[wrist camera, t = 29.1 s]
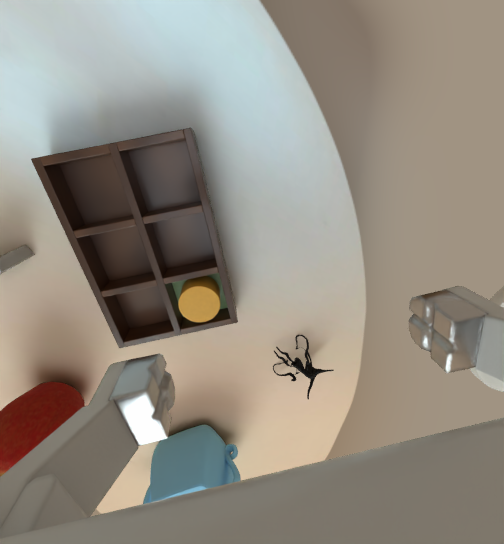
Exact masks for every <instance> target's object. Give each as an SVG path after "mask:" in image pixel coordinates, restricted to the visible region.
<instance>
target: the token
mask: <svg viewBox="0 0 504 544" xmlns="http://www.w3.org/2000/svg"><path fill="white" fill-rule="evenodd" d="M178 306H179V310H180V312H181V314H182V315H183V316H184V317H185V318H187V319H188V320H190V321H193V322H206V321H209V320H211V319H212V318H214V317H215V316H216V315H217V313H218V312H219V309H220V288H219V285H218V284H217V282H216V281H215V280H214V279H212V278H211V277H208V276H201V277H196V278H192V279H188V280H187V281H186V282H185V283H184V285H183V287H182V290H181V294H180V298H179V302H178Z"/></svg>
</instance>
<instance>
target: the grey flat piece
mask: <svg viewBox="0 0 504 544" xmlns="http://www.w3.org/2000/svg"><path fill="white" fill-rule="evenodd" d="M33 255H35V254H34V253H33V252H32V251H31V250H30V249H29V248H28V247H27V245H24V246H22V247H20V248H18V249H16V250H13V251H11V252H9V253H7V254H5V255H3V256H0V274H1V273H3V272H5V271H7V270H8V269H10V268H12V267H14V266H15V265H17V264H19V263H21V262H22V261H24V260H26V259H28V258H29V257H31V256H33Z"/></svg>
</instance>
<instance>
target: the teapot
mask: <svg viewBox="0 0 504 544" xmlns="http://www.w3.org/2000/svg"><path fill="white" fill-rule="evenodd" d="M232 451H233V453H232V454H231V455H230V452H232ZM237 454H238V450H237V447H236V446H235V445H234V444H228V445H225V443H224V441H223V440H222V438H221V437H220V436H219V435H218V434H217V433H216V432H215V431H214V430H213V429H212V428H211V427H210V426H208V425H200V426H196V427H193V428H190V429H187V430H184V431H182V432H179V433H176V434H174V435H172V436H169V437H168V438H167V439H163V440H161V441H160V442H159V443H158V445H157V447H156V448H155V450H154V453H153V457H152V464H151V476H150V486H149V488H148V490H147V492H146V495H145V498H144V502H143V504H146V503H150V502H154V501H158V500H163V499H167V498H171V497H175V496H179V495H183V494H188V493H192V492H196V491H200V490H204V489H208V488H213V487H217V486H221V485H225V484H229V483H233V482H238V481H240V474H239V471H238V469H237V467H236V465H235V464H234V462H233V461H232V459H235V458H236V456H237Z"/></svg>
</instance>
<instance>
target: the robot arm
mask: <svg viewBox="0 0 504 544" xmlns="http://www.w3.org/2000/svg"><path fill="white" fill-rule="evenodd" d="M409 308H410V310H411V311H412V312H413V313H414V314H413V315H412V317H411V318H410V319H409V331H410V334H411V337H412V339H413V340H414V342H415V343H416V344H417V345H418V346H419V347H420V348H421V349H424V350H427V351H429V352H431V358H432V359H433V360H434V361H435V362H436V363H437V364H438V365H439V366H440V367H441V368H442V369H444V371H445V372H446V373H450V372H455V371H459V370H465V369H470V368H475V367H476V369H477V370H479V371H481V372H484V373H486V374H488V375H490V376H492V377H495V378H497V379H499V380H501V381H503V382H504V308H503V307H501V306H499V305H497V304H495V303H494V302H492V301H490V300H488V299H486V298H484V297H482V296H480V295H478V294H476V293H475V292H473V291H471V290H469V289H467V288H465V287H462V286H456V287H452V288H448V289H444V290H442V291H438V292H434V293H429V294H425V295H421V296H416V297H412V299H411V301H410V307H409ZM165 368H166V361H165V359H164V357H163V355H161V354H155V355H151V356H146V357H141V358H136V359H131V360H126V361H121V362H117V363H113V364H111V365H110V366H109V367H108V369H107V371H106V373H105V375H104V377H103V379H102V381H101V383H100V384H99V386H98V388H97V390H96V392H95V394H94V396H93V398H92V400H91V401H90V403H89V405H88V406H85V407H82V408H81V409H80V410H79V411H77V412H76V413H75V414H74V415H73V416H72V417H70V418H69V419H68V420H67V421H66V422H65V423H63V424H62V425H61V426H60V427H59V428H57V429H56V430H55V431H54V432H53V433H52V434H50V435H49V436H48V437H47V438H46V439H44V440H43V441H42V442H41V443H40V444H39V445H37V446H36V447H35V448H34V449H33V450H31V451H30V452H29V453H28V454H27V455H26V456H24V457H23V458H22V459H21V460H20V461H18V462H17V463H16V464H15V465H14V466H13V467H11V468H10V469H9V470H8V471H7V472H6V473H4V474H3V475H2V476H1V477H0V544H504V418H500V419H497V420H492V421H488V422H484V423H480V424H475V425H472V426H467V427H463V428H459V429H455V430H450V431H446V432H442V433H438V434H434V435H430V436H426V437H421V438H417V439H413V440H409V441H405V442H400V443H396V444H392V445H388V446H384V447H380V448H376V449H371V450H367V451H363V452H359V453H354V454H350V455H346V456H342V457H338V458H334V459H329V460H325V461H321V462H317V463H313V464H309V465H304V466H300V467H296V468H292V469H288V470H283V471H279V472H275V473H271V474H267V475H263V476H258V477H254V478H250V479H246V480H242V481H238V482H233V483H229V484H225V485H221V486H217V487H213V488H208V489H204V490H200V491H196V492H192V493H188V494H183V495H179V496H175V497H171V498H167V499H163V500H158V501H154V502H150V503H146V504H142V505H138V506H133V507H129V508H125V509H121V510H117V511H113V512H108V513H104V514H100V515H96V516H92V517H90V516H91V515H92V513H93V512H94V510H95V509H96V507H97V506H98V505H99V503H100V502H101V500H102V499H103V497H104V496H105V495H106V493H107V492H108V490H109V489H110V488H111V486H112V485H113V483H114V482H115V480H116V479H117V478H118V476H119V475H120V473H121V472H122V470H123V469H124V468H125V466H126V465H127V463H128V462H129V461H130V459H131V458H132V456H133V455H134V453H135V452H136V451H137V449H138V446H140V445H144V444H148V443H152V442H156V441H159V440H163V439H167V438H168V434H169V428H170V423H171V416H170V413H169V410H170V409H171V408H172V407H173V405H174V400H175V387H174V382H173V379H172V376H171V374H169V373H168V372H166V371H165Z"/></svg>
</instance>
